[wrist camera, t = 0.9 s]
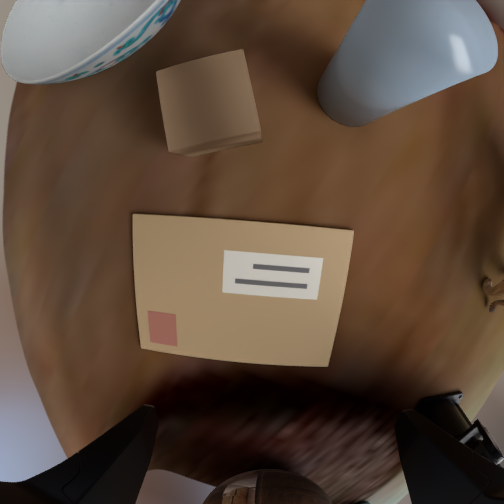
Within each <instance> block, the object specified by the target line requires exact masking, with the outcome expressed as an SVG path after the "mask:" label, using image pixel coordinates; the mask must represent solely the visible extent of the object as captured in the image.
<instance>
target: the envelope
mask: <svg viewBox="0 0 504 504" xmlns="http://www.w3.org/2000/svg"><path fill="white" fill-rule="evenodd" d="M353 236H354V231H353V230H346V229H337V228H327V227H317V226H306V225H295V224H284V223H272V222H260V221H247V220H234V219H220V218H205V217H189V216H172V215H153V214H133V260H134V280H135V294H136V307H137V317H138V327H139V336H140V344H141V348H143V349H148V350H154V351H160V352H165V353H172V354H178V355H185V356H192V357H199V358H207V359H215V360H224V361H233V362H244V363H256V364H270V365H287V366H315V367H328V364H329V360H330V356H331V352H332V347H333V343H334V339H335V334H336V330H337V325H338V321H339V316H340V311H341V306H342V301H343V296H344V291H345V285H346V280H347V274H348V268H349V262H350V256H351V249H352V243H353Z"/></svg>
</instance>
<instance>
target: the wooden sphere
mask: <svg viewBox="0 0 504 504" xmlns="http://www.w3.org/2000/svg"><path fill="white" fill-rule="evenodd" d="M203 504H332V502H331V500H330V498H329V497H328V495H327V494H326V493H325V492H324V491H323V490H322V489H321V488H320V487H319V486H318V485H317V484H316V483H314V482H313V481H311V480H310V479H308V478H306V477H304V476H302V475H299V474H297V473H293V472H290V471H285V470H278V469H259V470H253V471H248V472H244V473H241V474H238V475H236V476H233V477H231V478H229V479H227V480H226V481H224V482H223V483H221V484H220V485H218V486H217V487H216V488H215V489H214V490H213V491H212V492H211V493H210V494H209V496H208V497H207V498H206V500H205V501H204V503H203Z"/></svg>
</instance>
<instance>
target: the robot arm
mask: <svg viewBox="0 0 504 504" xmlns="http://www.w3.org/2000/svg"><path fill="white" fill-rule="evenodd" d="M462 397H463V393H462V392H456V393H451V394H446V395H441V396H435V397H429V398H424V399H422V400H421V401H420V402H419V404H418V406H417V408H416V410H414V409H407V410H403V411H402V412H401V414H400V416H399V418H398V420H397V422H396V424H395V433H396V439H397V445H398V450H399V456H400V461H401V465H402V469H403V472H404V476H405V479H406V483H407V487H408V490H409V494H410V498H411V502H412V504H504V468H502V467H501V465H500V463H501V462H502V461H503V460H504V457H503V455H502V453H501V451H500V449H499V447H498V445H497V443H496V442H495V440H494V439H493V437H492V436H491V434H490V433H489V431H488V430H487V429H486V427H484V425H483V424H482V423H481V422H480V421H479V420H478V419H477V420H476V421H475V422H474V424H471V422H470V421H469V419H468V418H467V416H466V415H465V413H464V412H463V411H462V409H461V408H460V406H459V405H458V404H459V403H460V401H461V399H462ZM157 428H158V418H157V413H156V409H155V407H154V406H151V405H146V404H144V405H142V406H140V407H139V408H138V409H136V410H135V411H134V412H132V413H131V414H130V415H128V416H127V417H126V418H124V419H123V420H122V421H120V422H119V423H118V424H116V425H115V426H114V427H112V428H111V429H109V430H108V431H107V432H105V433H104V434H103V435H101V436H100V437H98V438H97V439H96V440H94V441H93V442H91V443H90V444H88V445H87V446H86V447H84V448H83V449H81V450H80V451H79V452H78V453H75V454H74V455H73V456H71V457H70V458H68V459H66V460H65V461H63V462H62V463H60V464H58V465H56V466H54V467H52V468H51V469H49V470H47V471H45V472H42V473H40V474H38V475H36V476H34V477H32V478H30V479H27V480H25V481H22V482H1V481H0V504H135V503H136V500H137V497H138V494H139V491H140V488H141V485H142V483H143V480H144V477H145V474H146V472H147V469H148V466H149V463H150V460H151V456H152V451H153V447H154V442H155V437H156V433H157ZM482 439H483V440H482ZM481 440H482V441H481Z"/></svg>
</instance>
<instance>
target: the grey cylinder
mask: <svg viewBox="0 0 504 504" xmlns="http://www.w3.org/2000/svg"><path fill="white" fill-rule="evenodd" d="M497 57H498V45H497V40H496V36H495V33H494V30H493V28H492V25H491V23H490V21H489V19H488V17H487V16H486V14H485V13H484V11H483V10H482V8H481V7H480V5H479V4H478V3H477V2H476V0H366V2H365V3H364V5H363V7H362V8H361V10H360V12H359V13H358V15H357V17H356V18H355V20H354V22H353V23H352V25H351V27H350V28H349V30H348V32H347V33H346V35H345V37H344V38H343V40H342V42H341V44H340V45H339V47H338V49H337V50H336V52H335V54H334V56H333V57H332V59H331V61H330V62H329V64H328V66H327V68H326V69H325V71H324V73H323V75H322V76H321V78H320V80H319V82H318V86H317V96H318V100H319V103H320V105H321V107H322V109H323V110H324V112H325V113H326V114H327V115H328V116H329V117H330V118H331V119H332V120H334V121H336V122H337V123H339V124H342V125H344V126H349V127H360V126H364V125H366V124H368V123H370V122H372V121H374V120H376V119H379V118H381V117H383V116H385V115H387V114H389V113H391V112H393V111H396V110H398V109H400V108H402V107H404V106H406V105H409V104H411V103H413V102H415V101H417V100H420V99H422V98H424V97H427V96H429V95H431V94H433V93H436V92H438V91H441V90H443V89H445V88H448V87H450V86H453V85H455V84H457V83H460V82H462V81H465V80H467V79H470V78H473V77H475V76H478V75H480V74H483V73H486V72H488V71H489V70H491V69H492V68H493V67H494V65H495V63H496V61H497Z"/></svg>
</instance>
